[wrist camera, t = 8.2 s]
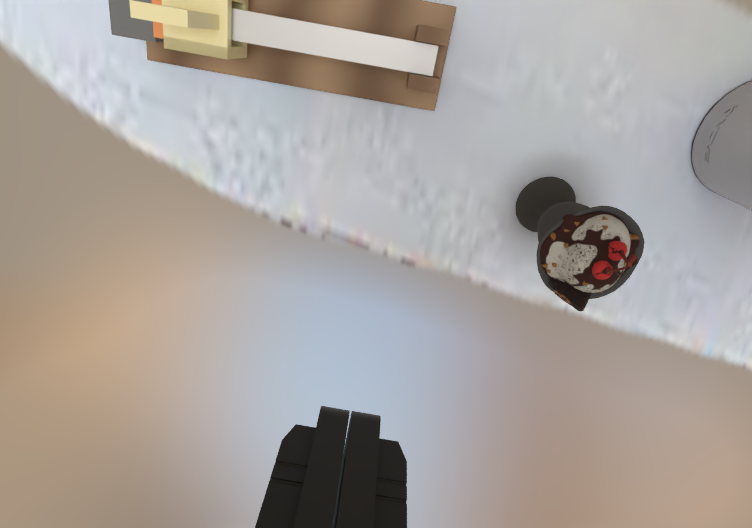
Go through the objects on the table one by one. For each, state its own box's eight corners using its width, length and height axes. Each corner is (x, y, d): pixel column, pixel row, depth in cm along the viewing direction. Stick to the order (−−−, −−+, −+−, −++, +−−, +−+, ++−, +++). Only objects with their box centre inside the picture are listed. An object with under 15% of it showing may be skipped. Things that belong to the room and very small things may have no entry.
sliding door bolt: (436, 31, 32) (442, 29, 27) (426, 85, 33) (429, 91, 29) (146, -22, 31) (103, -33, 27) (150, 35, 33) (110, 34, 28)
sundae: (568, 150, 36) (668, 215, 22) (596, 218, 38) (701, 313, 25) (492, 190, 38) (542, 272, 24) (523, 252, 40) (585, 359, 27)
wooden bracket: (454, 7, 32) (466, 0, 26) (433, 109, 35) (439, 122, 29) (147, -49, 31) (90, -70, 25) (154, 59, 34) (104, 62, 29)
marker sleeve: (248, -8, 30) (196, -25, 22) (246, 57, 32) (197, 62, 24) (189, -19, 30) (116, -39, 22) (191, 47, 32) (123, 49, 24)
